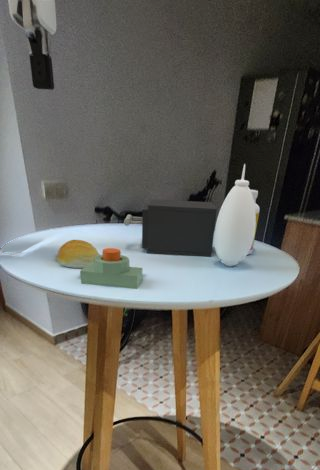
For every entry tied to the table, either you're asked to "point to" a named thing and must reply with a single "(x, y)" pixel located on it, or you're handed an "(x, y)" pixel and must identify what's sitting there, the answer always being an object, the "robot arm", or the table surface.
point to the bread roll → (76, 254)
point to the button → (111, 254)
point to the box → (111, 273)
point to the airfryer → (180, 227)
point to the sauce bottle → (235, 224)
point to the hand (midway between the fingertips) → (43, 88)
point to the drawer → (144, 223)
